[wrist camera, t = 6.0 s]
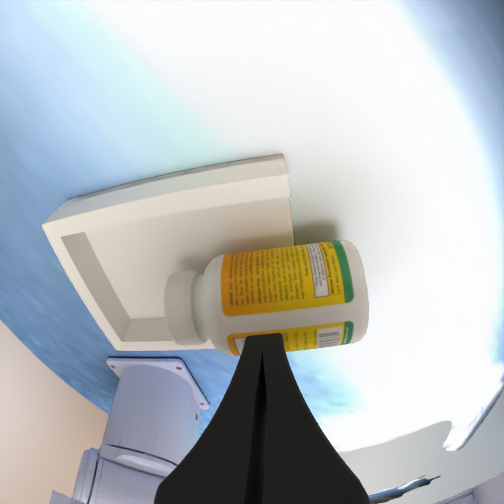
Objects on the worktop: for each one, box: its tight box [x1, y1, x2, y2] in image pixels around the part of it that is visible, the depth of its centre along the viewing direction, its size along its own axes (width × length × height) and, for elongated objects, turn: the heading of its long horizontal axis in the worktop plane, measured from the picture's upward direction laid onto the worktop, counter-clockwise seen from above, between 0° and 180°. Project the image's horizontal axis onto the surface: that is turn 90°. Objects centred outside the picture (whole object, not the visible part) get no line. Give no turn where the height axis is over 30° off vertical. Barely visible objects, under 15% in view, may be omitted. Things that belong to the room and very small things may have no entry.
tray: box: [42, 154, 295, 351], centre depth 17 cm, size 11×13×3 cm
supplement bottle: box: [163, 240, 369, 356], centre depth 16 cm, size 5×5×10 cm
